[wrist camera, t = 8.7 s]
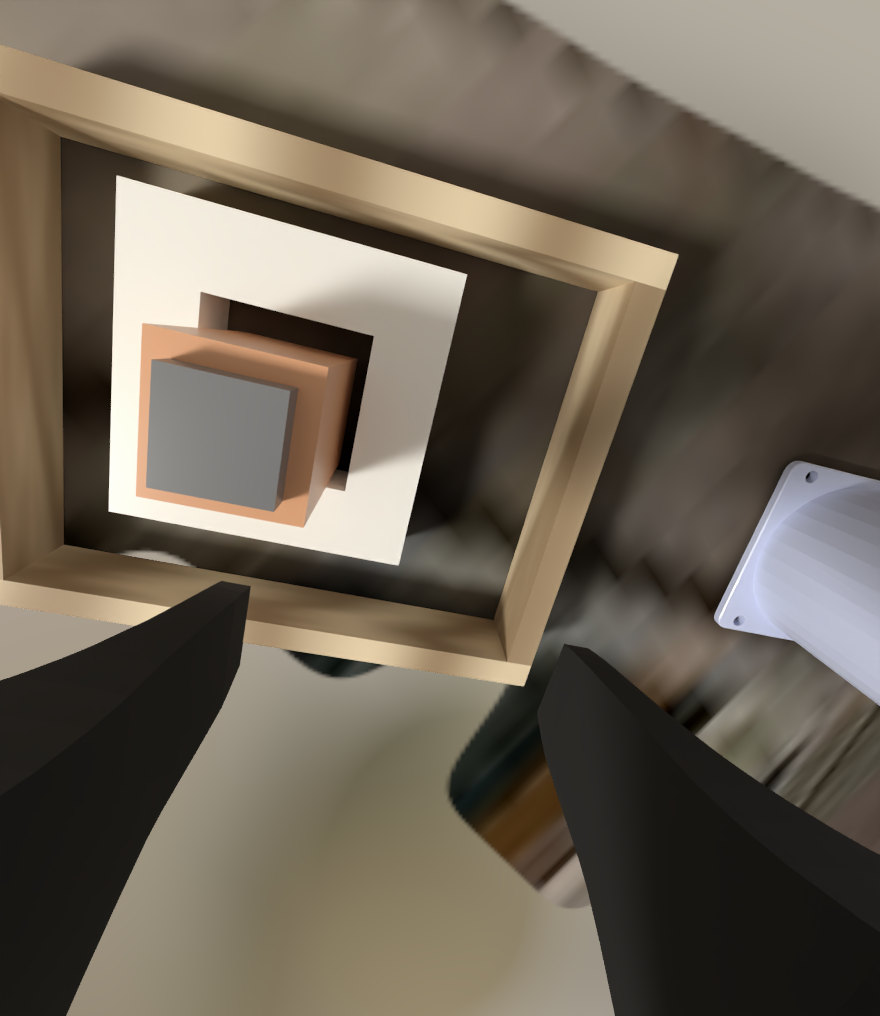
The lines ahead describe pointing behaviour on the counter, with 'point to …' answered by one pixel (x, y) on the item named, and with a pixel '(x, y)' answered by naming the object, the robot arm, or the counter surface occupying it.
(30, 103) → the tray
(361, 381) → the counter surface
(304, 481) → the peg
